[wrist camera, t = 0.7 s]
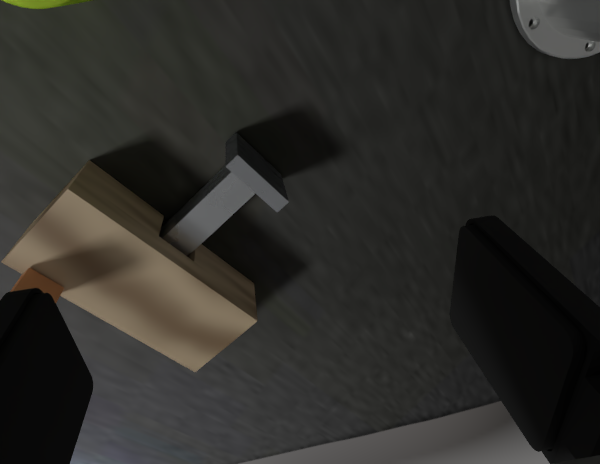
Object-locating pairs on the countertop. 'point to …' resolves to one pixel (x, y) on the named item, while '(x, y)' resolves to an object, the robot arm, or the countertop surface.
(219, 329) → the block
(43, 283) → the bar
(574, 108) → the countertop surface
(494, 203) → the countertop surface
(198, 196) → the lynch pin
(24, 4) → the soap dispenser
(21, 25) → the countertop surface
